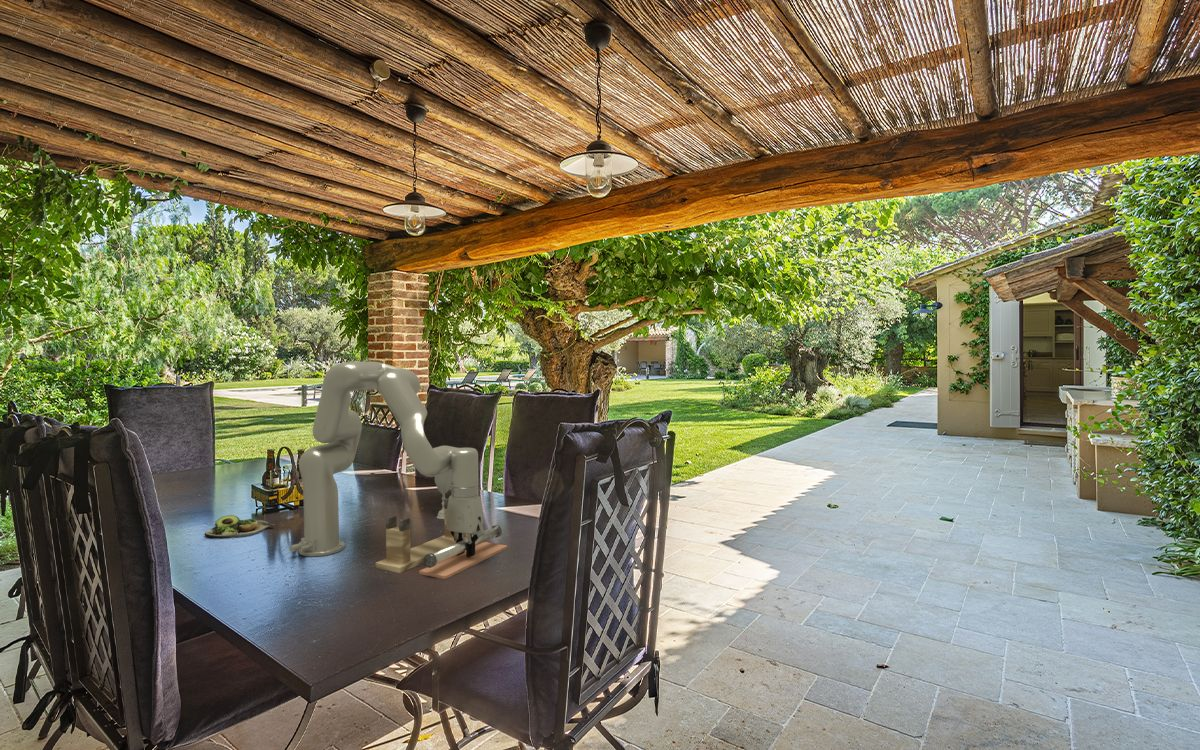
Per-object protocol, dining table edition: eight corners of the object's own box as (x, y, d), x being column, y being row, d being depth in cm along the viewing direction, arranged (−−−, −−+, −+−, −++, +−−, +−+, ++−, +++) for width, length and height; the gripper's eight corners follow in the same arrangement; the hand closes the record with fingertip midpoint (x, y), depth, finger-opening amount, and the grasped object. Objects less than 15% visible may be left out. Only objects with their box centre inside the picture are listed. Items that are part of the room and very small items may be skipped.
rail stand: (399, 573, 163) (399, 523, 162) (375, 568, 167) (374, 519, 166) (474, 540, 191) (474, 498, 191) (452, 536, 195) (452, 495, 195)
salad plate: (283, 523, 213) (283, 510, 213) (262, 538, 195) (262, 524, 195) (225, 525, 210) (224, 512, 210) (198, 541, 193) (197, 526, 193)
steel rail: (434, 568, 159) (434, 555, 158) (423, 566, 160) (423, 553, 160) (501, 537, 185) (501, 525, 185) (492, 535, 187) (492, 524, 187)
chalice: (446, 513, 224) (445, 465, 223) (457, 516, 219) (457, 467, 219) (429, 517, 218) (429, 467, 217) (441, 520, 214) (440, 470, 213)
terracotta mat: (445, 579, 158) (445, 576, 158) (419, 573, 162) (419, 570, 162) (507, 548, 183) (507, 545, 183) (483, 544, 187) (483, 541, 187)
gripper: (433, 491, 172) (434, 554, 173) (479, 497, 165) (480, 563, 166) (451, 486, 179) (451, 547, 180) (496, 491, 172) (496, 555, 172)
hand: (465, 554), depth 173 cm, fingers closed on steel rail, 3 cm apart
